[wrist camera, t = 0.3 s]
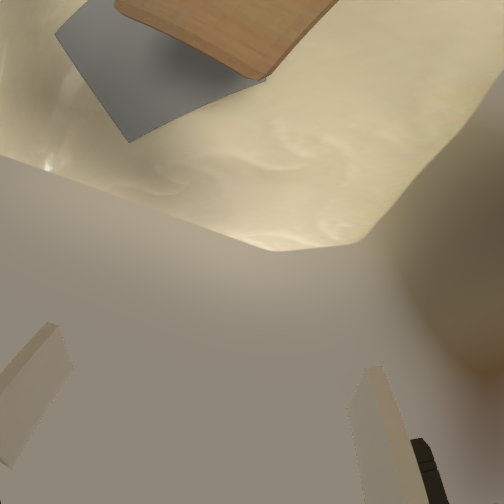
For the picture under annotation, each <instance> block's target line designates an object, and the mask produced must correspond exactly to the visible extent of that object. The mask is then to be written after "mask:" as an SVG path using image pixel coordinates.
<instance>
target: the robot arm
mask: <svg viewBox="0 0 504 504" xmlns="http://www.w3.org/2000/svg"><path fill="white" fill-rule="evenodd" d="M73 370H74V369H73V366H72V363H71V361H70V358H69V355H68V352H67V350H66V346H65V343H64V340H63V337H62V334H61V331H60V327H59V325H55V324H52V323H48V322H47V323H46V324H45V325H44V326H43V327H42V328H41V329H40V330H39V331H38V332H37V333H36V334H35V335H34V337H32V339H31V340H30V341H29V342H28V343H27V344H26V345H25V346H24V347H23V348H22V350H21V351H20V352H19V353H18V354H17V355H16V356H15V357H14V359H13V360H12V361H11V362H10V363H9V364H8V365H7V367H6V368H5V369H4V370H3V371H2V372H1V374H0V462H1V463H3V464H4V465H6V466H8V467H9V468H10V469H12V468H13V466H14V464H15V462H16V460H17V459H18V457H19V455H20V453H21V452H22V450H23V448H24V447H25V445H26V443H27V441H28V440H29V438H30V437H31V435H32V433H33V432H34V430H35V428H36V427H37V425H38V424H39V422H40V420H41V419H42V417H43V415H44V414H45V412H46V411H47V409H48V408H49V406H50V405H51V403H52V402H53V400H54V398H55V397H56V395H57V394H58V392H59V391H60V389H61V388H62V386H63V385H64V383H65V382H66V381H67V379H68V378H69V376H70V375H71V373H72V372H73ZM347 411H348V417H349V421H350V426H351V431H352V435H353V440H354V446H355V451H356V456H357V461H358V466H359V472H360V478H361V483H362V489H363V495H364V502H365V504H449V502H448V500H447V496H446V493H445V490H444V487H443V484H442V481H441V477H440V474H439V471H438V470H437V466H436V463H435V461H434V457H433V454H432V451H431V449H430V447H429V446H428V444H426V442H425V441H424V440H423V439H422V438H418V439H413V440H410V439H409V436H408V433H407V430H406V428H405V424H404V422H403V419H402V416H401V413H400V411H399V408H398V405H397V402H396V400H395V397H394V394H393V392H392V389H391V387H390V384H389V382H388V379H387V376H386V374H385V371H384V369H383V366H366V367H365V369H364V371H363V374H362V376H361V378H360V381H359V383H358V385H357V388H356V390H355V392H354V394H353V397H352V399H351V401H350V403H349V405H348V408H347ZM0 504H1V502H0Z"/></svg>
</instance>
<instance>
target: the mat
mask: <svg viewBox="0 0 504 504" xmlns="http://www.w3.org/2000/svg"><path fill="white" fill-rule="evenodd" d="M114 2H115V0H88V1H87V2H86V3H85V4H84V5H83V6H82V7H81V8H80V9H79V10H77V11H76V12H75V13H74V14H73V15H72V16H71V17H70V18H69V19H68V20H67V21H66V22H65V23H64V24H63V25H62V26H61V27H60V29H59V30H58V31H57V32H56V33H55V34H54V35H55V36H56V38H57V39H58V41H59V42H60V44H61V46H62V47H63V49H64V50H65V52H66V53H67V55H68V56H69V58H70V59H71V61H72V62H73V64H74V65H75V67H76V68H77V69H78V71H79V72H80V74H81V75H82V77H83V78H84V80H85V81H86V83H87V84H88V86H89V87H90V89H91V90H92V91H93V93H94V94H95V96H96V97H97V99H98V100H99V101H100V103H101V104H102V106H103V107H104V109H105V110H106V111H107V113H108V114H109V116H110V117H111V119H112V120H113V121H114V123H115V124H116V126H117V127H118V128H119V130H120V131H121V133H122V134H123V135H124V137H125V138H126V139H127V141H128V142H129V143H130V142H132V141H134V140H135V139H137V138H139V137H141V136H143V135H145V134H146V133H148V132H150V131H152V130H154V129H156V128H158V127H160V126H162V125H164V124H166V123H168V122H170V121H172V120H174V119H176V118H178V117H180V116H182V115H184V114H186V113H188V112H190V111H192V110H195V109H197V108H199V107H201V106H203V105H206V104H208V103H210V102H213V101H215V100H217V99H220V98H222V97H225V96H227V95H229V94H232V93H234V92H237V91H240V90H242V89H245V88H247V87H250V86H253V85H255V84H258V83H261V82H264V81H266V77H265V78H263V79H261V80H259V81H257V80H252V79H248V78H244V77H242V76H241V75H239V74H238V73H236V72H234V71H233V70H231V69H229V68H228V67H226V66H224V65H223V64H221V63H219V62H217V61H216V60H214V59H212V58H210V57H209V56H207V55H205V54H203V53H201V52H199V51H198V50H196V49H194V48H192V47H190V46H188V45H186V44H184V43H182V42H180V41H178V40H176V39H174V38H172V37H170V36H168V35H166V34H164V33H162V32H160V31H158V30H155V29H153V28H151V27H149V26H147V25H144V24H142V23H140V22H137V21H135V20H133V19H130V18H128V17H125V16H123V15H122V14H121V13H119V12H118V11H117V10H116V9H115V8H114Z"/></svg>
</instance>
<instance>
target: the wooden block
mask: <svg viewBox="0 0 504 504" xmlns="http://www.w3.org/2000/svg"><path fill="white" fill-rule="evenodd" d="M338 1H339V0H115V2H114V8H115V9H116V10H117V11H118V12H119V13H121V14H122V15H123V16H125V17H128V18H130V19H133V20H135V21H137V22H140V23H142V24H144V25H147V26H149V27H151V28H153V29H155V30H158V31H160V32H162V33H164V34H166V35H168V36H170V37H172V38H174V39H176V40H178V41H180V42H182V43H184V44H186V45H188V46H190V47H192V48H194V49H196V50H198V51H199V52H201V53H203V54H205V55H207V56H209V57H210V58H212V59H214V60H216V61H217V62H219V63H221V64H223V65H224V66H226V67H228V68H229V69H231V70H233V71H234V72H236V73H238V74H239V75H241V76H242V77H244V78H248V79H252V80H257V81H259V80H261V79H263V78H265V77H267V76H269V75H271V74H272V72H273V71H274V70H275V69H276V68H277V67H278V65H279V64H280V63H281V62H282V61H283V60H284V58H285V57H286V56H287V55H288V54H289V53H290V52H291V50H292V49H293V48H294V47H295V46H296V45H297V44H298V43H299V42H300V40H301V39H302V38H303V37H304V36H305V35H306V34H307V33H308V32H309V31H310V30H311V28H312V27H313V26H314V25H315V24H316V23H317V22H318V21H319V20H320V19H321V18H322V17H323V16H324V15H325V14H326V13H327V12H328V11H329V10H330V9H331V8H332V7H333V6H334V5H335V4H336V3H337V2H338Z"/></svg>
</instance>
